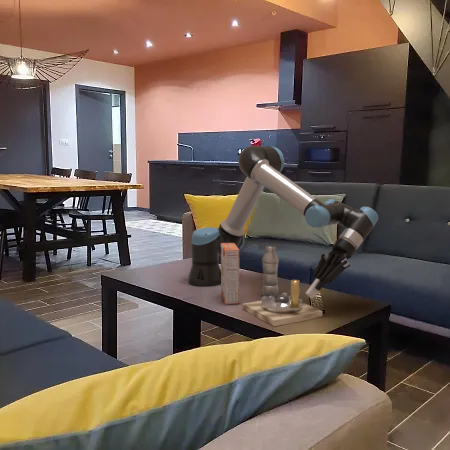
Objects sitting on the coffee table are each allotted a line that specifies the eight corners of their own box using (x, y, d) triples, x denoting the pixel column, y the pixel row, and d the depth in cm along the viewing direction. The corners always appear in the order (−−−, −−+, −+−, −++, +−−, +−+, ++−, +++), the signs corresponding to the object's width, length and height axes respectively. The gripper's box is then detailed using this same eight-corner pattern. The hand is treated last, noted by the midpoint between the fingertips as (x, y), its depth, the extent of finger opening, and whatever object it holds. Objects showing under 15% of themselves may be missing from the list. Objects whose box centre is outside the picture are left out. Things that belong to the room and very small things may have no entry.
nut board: (242, 309, 170) (242, 303, 170) (287, 301, 180) (287, 295, 179) (274, 326, 153) (274, 320, 152) (322, 316, 162) (322, 310, 162)
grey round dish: (254, 304, 168) (254, 273, 167) (286, 298, 175) (286, 269, 174) (280, 317, 155) (280, 284, 153) (313, 310, 161) (314, 279, 160)
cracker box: (220, 294, 189) (220, 242, 186) (235, 293, 189) (235, 242, 186) (223, 304, 175) (223, 249, 172) (239, 304, 176) (240, 249, 173)
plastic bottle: (277, 298, 183) (278, 248, 180) (260, 297, 184) (261, 247, 181) (279, 294, 189) (280, 245, 186) (262, 293, 190) (263, 244, 187)
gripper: (366, 254, 164) (327, 307, 158) (340, 247, 175) (303, 297, 170) (355, 240, 161) (315, 294, 155) (329, 234, 172) (291, 285, 166)
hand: (308, 295), depth 162 cm, fingers closed
